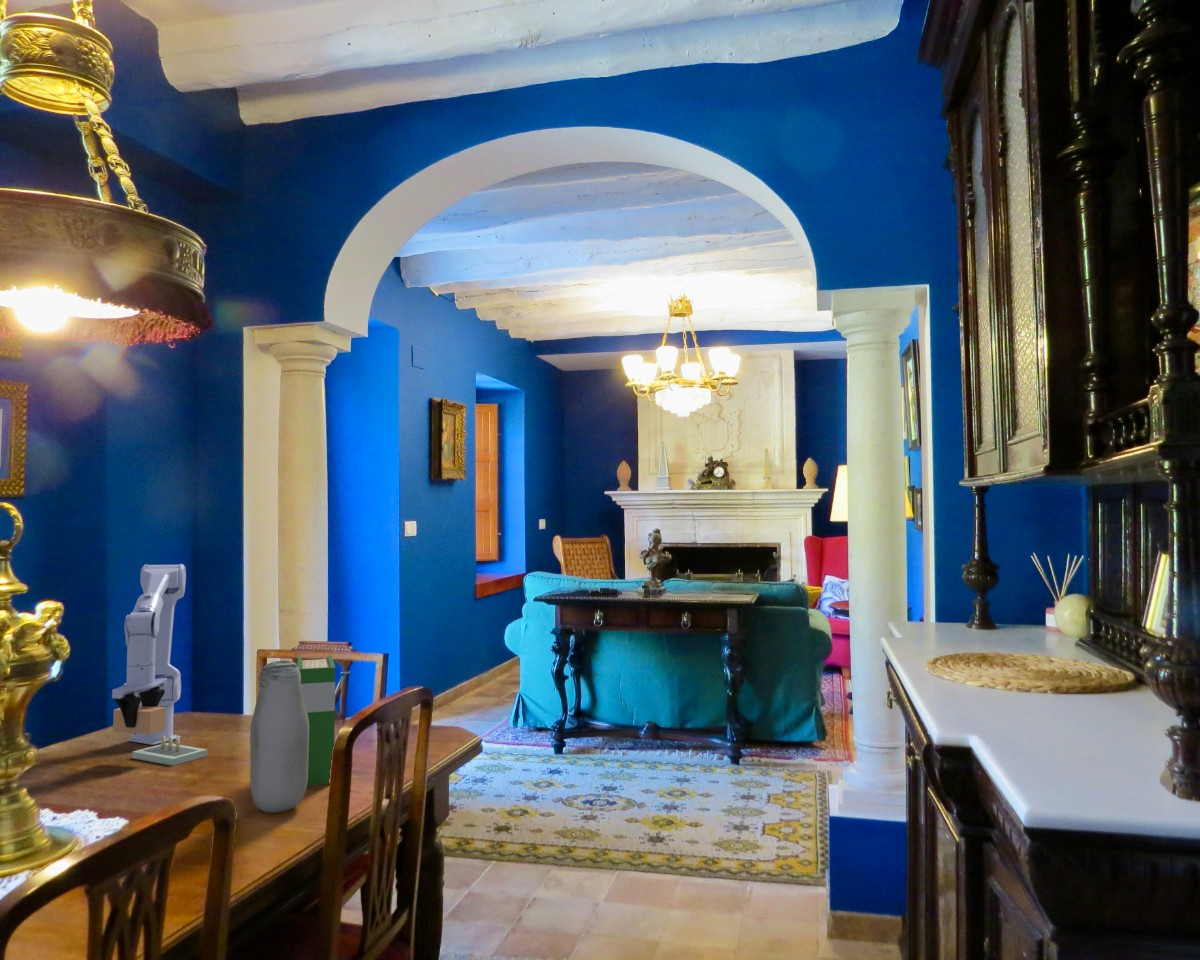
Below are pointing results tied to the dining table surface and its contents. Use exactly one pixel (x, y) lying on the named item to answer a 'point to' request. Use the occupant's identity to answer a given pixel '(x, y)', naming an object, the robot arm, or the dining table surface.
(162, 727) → the block
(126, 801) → the dining table surface
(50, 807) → the dining table surface
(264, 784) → the gray bottle
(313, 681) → the hardback book
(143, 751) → the header board
